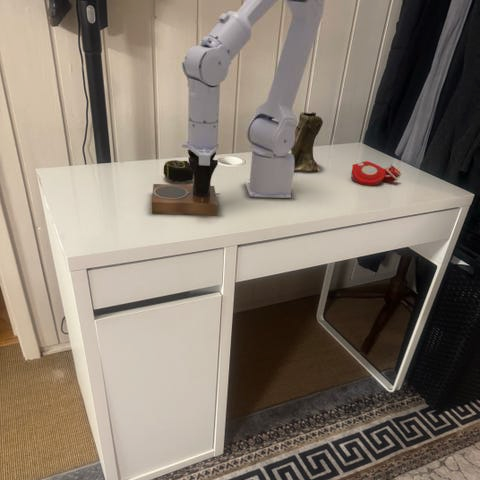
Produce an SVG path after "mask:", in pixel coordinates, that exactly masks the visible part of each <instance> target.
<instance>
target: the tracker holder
mask: <svg viewBox="0 0 480 480" xmlns="http://www.w3.org/2000/svg"><path fill="white" fill-rule="evenodd" d="M351 168H352V169H351V177H352V179H353V181H354V182H356V183H357V184H359V185H363V186H375V185H378V184H380V183H382V182H388V183H389V182H391V183H393V182H395V181H396V182H397V181H398V180H399V179H400V177H402V174H403V173H402V172H401V171H400V170H399V169H397V168H396V166H395V165H393V164H392V163H390V164H389V166H388V167H386V168H383V167H381V166H380V165H378V164H376V163H374V162H371V161H367V160H365V161H361V162H357V163H354V164H352V166H351Z"/></svg>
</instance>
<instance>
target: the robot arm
mask: <svg viewBox="0 0 480 480" xmlns="http://www.w3.org/2000/svg"><path fill="white" fill-rule="evenodd" d="M278 1H279V0H245V1H244V2H243V3H242V5H241V6H240V7H239V9H238V10H237V11H234V10H229V11H227V12H226V13H224V12H223V13H221V15H220V16H219V17H218V20H219V21H218V23H217V24H216V25H215V26H214V27H213V28H212V30H211V31H209V33H208V34H207V35H204V36H203V38H201V43H200V44H196V45H193V46H191V47H190V48H189V49H188V50H187V52H186V53H185V56H184V61H181V69H182V72H183V74H184V76H185V77H186V80H187V88H188V96H187V97H188V99H187V100H188V101H187V103H188V106H187V107H188V108H187V109H188V112H187V115H188V116H187V119H188V120H187V124H188V125H187V136H188V137H187V140H184V141H181V147H182V148H184V149H187V154H188V162H189V164H190V166H191V168H192V171H193V174H194V179H195V186H196V191H197V194H207V193H208V190H209V186H211V185H210V181H211V182H212V178H213V174H214V172H215V170H216V168H217V166H218V165H219V161H218V159H214V158H215V157H216V155H217V151H218V150H219V142H218V140H219V117H220V98H221V97H220V96H221V83H223V82H224V81H225V80H226V79H227V76H228V73H229V67H230V65H231V64H232V61H233V60H234V58H235V57H236V56H237V55H238V54H239V53H240V52H241V50H242V49H243V48H244V47H245V46H246V45H247V43H248V42H249V41H250V40H251V38H252V27H254V25H256V23H257V22H259V20H260V19H261V18H263V16H264V15H265V14H266V13H268V11H269V10H271V8H272V7H273V6H274V5H275V4H276V3H277V2H278ZM283 1H284V3H285V4H286V5H287V7H288V8H289V10H290V13H291V16H292V17H291V20H290V24H289V27H288V30H287V34H286V37H285V40H284V43H283V48H282V50H281V53H280V57H279V60H278V63H277V67H276V70H275V73H274V76H273V79H272V82H271V85H270V90H269V92H268V96H267V99H266V101H265V102H263V103H262V104H260V105H259V106H258V107H257V108H256V110H255V112H254V115H253V117H252V119H251V120H250V121H249V123H248V125H247V128H246V138H247V141H248V142H249V144H250V149H251V151H252V152H251V162H250V173H249V182H245V187H246V190H247V194H248V196H249V197H250V198H271V199H272V198H273V199H274V198H275V199H291V198H292V187H293V182H294V181H293V180H294V175H295V174H294V173H295V170H294V156H293V154H291V153H290V152H291V149H292V147H293V145H294V141H295V130H296V127H297V126H298V123H299V121H298V120H297V117H296V116H295V114H294V111H293V107H294V104H295V100H296V97H297V94H298V91H299V88H300V85H301V82H302V79H303V76H304V73H305V69H306V68H307V67H306V66H307V65H308V61H309V57H310V55H311V51H312V49H313V45H314V42H315V40H316V37H317V33H318V30H319V27H320V24H321V20H322V18H323V14H324V5H325V0H283ZM275 119H276V120H275Z"/></svg>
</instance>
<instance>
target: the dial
mask: <svg viewBox="0 0 480 480" xmlns="http://www.w3.org/2000/svg"><path fill="white" fill-rule="evenodd" d="M211 182H212V180H211V181H210V186H212V185H211ZM192 185H193V194H194V195H195V196H199V197H206V196H209V195H210V186H209V190H208V193H207V194H197V191H196V186H195V179H194V174H193V180H192Z"/></svg>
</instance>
